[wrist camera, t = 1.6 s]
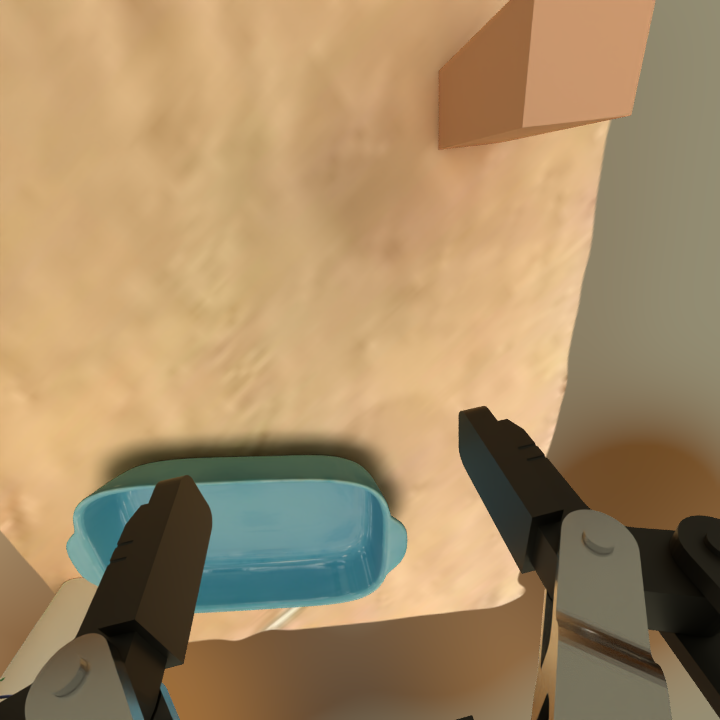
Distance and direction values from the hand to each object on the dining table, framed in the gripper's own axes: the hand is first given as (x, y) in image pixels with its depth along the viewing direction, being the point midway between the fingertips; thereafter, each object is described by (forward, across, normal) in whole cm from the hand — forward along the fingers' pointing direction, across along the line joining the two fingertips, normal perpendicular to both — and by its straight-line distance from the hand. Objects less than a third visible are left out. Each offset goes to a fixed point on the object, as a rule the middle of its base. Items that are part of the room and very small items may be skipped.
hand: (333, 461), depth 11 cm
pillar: (+24, +15, +8) cm, 29 cm away
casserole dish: (+24, -14, -30) cm, 40 cm away
